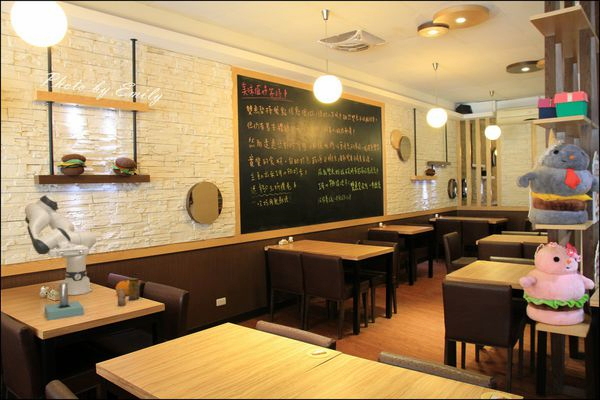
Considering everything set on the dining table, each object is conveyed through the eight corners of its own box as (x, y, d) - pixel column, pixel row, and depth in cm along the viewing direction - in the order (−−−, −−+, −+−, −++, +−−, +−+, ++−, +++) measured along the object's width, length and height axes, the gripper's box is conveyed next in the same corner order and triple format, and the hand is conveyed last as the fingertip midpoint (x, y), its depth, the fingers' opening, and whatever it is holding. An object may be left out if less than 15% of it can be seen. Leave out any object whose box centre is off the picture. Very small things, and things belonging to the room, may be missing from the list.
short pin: (117, 305, 249) (116, 289, 249) (124, 304, 251) (124, 288, 251) (118, 306, 246) (118, 290, 246) (126, 305, 248) (126, 289, 248)
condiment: (137, 296, 269) (137, 277, 269) (142, 299, 262) (142, 279, 262) (125, 298, 264) (125, 278, 264) (130, 301, 258) (130, 281, 258)
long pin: (59, 313, 232) (58, 283, 232) (67, 312, 234) (67, 282, 234) (60, 315, 229) (59, 285, 228) (68, 314, 231) (68, 283, 231)
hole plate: (44, 313, 233) (44, 305, 233) (78, 308, 243) (77, 301, 243) (48, 320, 220) (48, 312, 220) (83, 314, 230) (83, 307, 230)
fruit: (111, 296, 271) (111, 279, 271) (124, 291, 282) (124, 276, 282) (126, 297, 267) (126, 281, 267) (139, 293, 279) (139, 277, 278)
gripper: (46, 246, 250) (49, 249, 239) (86, 244, 262) (90, 246, 251) (47, 257, 250) (50, 260, 239) (86, 254, 262) (91, 257, 251)
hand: (71, 253), depth 245 cm, fingers open, 8 cm apart
